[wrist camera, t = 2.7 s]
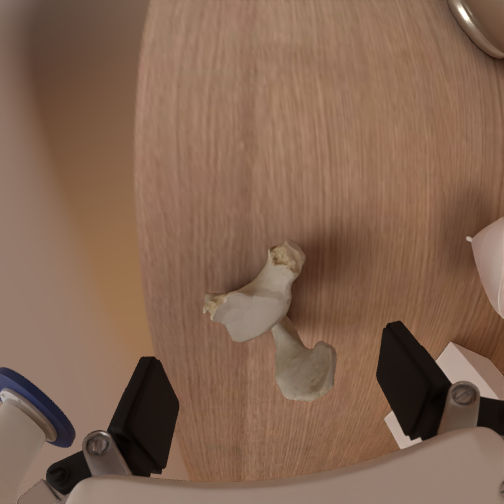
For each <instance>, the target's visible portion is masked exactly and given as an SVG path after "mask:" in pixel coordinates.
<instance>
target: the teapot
mask: <svg viewBox="0 0 504 504" xmlns="http://www.w3.org/2000/svg"><path fill="white" fill-rule="evenodd" d="M447 1H448V4H449V7H450V9H451V11H452V13H453V15H454V17H455V18H456V20H457V21H458V23H459V24H460V26H461V27H462V29H463V30H464V31H465V33H466V34H467V35H468V36H469V37H470V39H471V40H472V41H473V42H474V43H475V44H476V45H477V46H478V47H479V48H480V49H482V50H483V51H484V52H485V53H487V54H488V55H490V56H492V57H495V58H499V59H501V58H504V0H447Z"/></svg>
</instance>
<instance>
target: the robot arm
mask: <svg viewBox="0 0 504 504" xmlns="http://www.w3.org/2000/svg"><path fill="white" fill-rule="evenodd" d="M376 377H377V381H378V383H379V385H380V386H381V388H382V390H383V392H384V394H385V396H386V398H387V400H388V402H389V404H390V406H391V408H392V410H393V412H394V414H395V416H396V419H397V421H398V423H399V425H400V427H401V429H402V431H403V433H404V435H405V436H409V438H410V440H411V441H412V440H415V439H417V438H421V440H422V442H419V443H417V444H414V445H412V446H409V447H406V448H404V449H401V450H398V451H395V452H392V453H389V454H386V455H383V456H380V457H377V458H374V459H371V460H368V461H364V462H361V463H357V464H353V465H350V466H346V467H341V468H337V469H333V470H328V471H323V472H318V473H313V474H307V475H301V476H295V477H287V478H279V479H269V480H257V481H239V482H201V481H183V480H170V479H159V478H151V477H150V475H151V473H154V474H161V473H162V469H164V468H165V467H166V465H167V460H168V455H169V451H170V447H171V442H172V437H173V433H174V429H175V424H176V420H177V416H178V411H179V401H178V398H177V396H176V394H175V392H174V390H173V388H172V386H171V384H170V382H169V380H168V377H167V375H166V373H165V371H164V368H163V366H162V364H161V362H160V360H157V359H156V358H155V357H153V356H152V357H141V358H140V360H139V362H138V364H137V367H136V368H135V371H134V373H133V375H132V377H131V379H130V381H129V384H128V386H127V387H126V389H125V391H124V393H123V395H122V397H121V400H120V402H119V404H118V406H117V409H116V411H115V413H114V415H113V418H112V420H111V422H110V425H109V427H108V429H107V432H106V431H103V430H97V431H93V432H91V433H90V434H88V435H87V436H86V437H85V438H84V441H83V443H82V449H83V450H82V451H80V452H78V453H76V454H73V455H71V456H69V457H67V458H65V459H63V460H60V461H58V462H56V463H54V464H52V465H51V466H50V467H49V468H48V470H47V473H46V480H43V479H41V480H40V481H39V482H38V483H37V484H35V485H34V486H33V487H32V488H30V489H29V490H28V491H27V492H25V493H24V494H23V495H22V496H21V497H20V498H19V499H18V501H17V498H18V496H19V494H20V492H21V489H22V487H23V485H24V483H25V480H26V478H27V476H28V474H29V472H30V470H31V468H32V466H33V464H34V462H35V460H36V458H37V456H38V454H39V451H40V450H41V448H42V446H43V444H44V442H45V440H46V441H50V442H53V441H55V440H56V438H57V436H58V435H57V431H56V429H55V428H54V426H53V425H52V423H51V422H50V421H49V420H48V418H47V417H46V416H45V415H44V414H43V413H42V412H41V411H40V410H39V409H38V408H37V407H36V406H34V405H33V404H32V403H31V402H30V401H29V400H27V399H26V398H25V397H23V396H22V395H21V394H19V393H18V392H16V391H14V390H12V389H9V388H3V390H2V391H1V392H0V397H1V400H2V402H3V404H2V405H1V406H0V504H16V501H17V504H504V400H498V399H492V398H487V397H482V396H480V391H479V389H478V387H477V386H476V385H475V384H473V383H471V382H468V381H459V382H456V383H454V384H452V383H451V382H450V380H449V379H448V378H447V376H446V375H445V374H444V372H443V371H442V370H441V368H440V367H439V366H438V364H437V363H436V362H435V361H434V359H433V358H432V357H431V355H430V354H429V353H428V352H427V350H426V349H425V348H424V347H423V346H422V345H420V344H419V342H418V341H417V340H416V339H415V337H414V336H413V335H412V334H411V333H410V331H409V330H408V329H407V328H406V327H405V325H404V324H403V323H402V322H401V321H396V322H392V323H388V324H387V325H386V328H384V329H383V333H382V340H381V347H380V354H379V361H378V367H377V372H376Z"/></svg>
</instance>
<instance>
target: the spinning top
mask: <svg viewBox="0 0 504 504" xmlns="http://www.w3.org/2000/svg"><path fill="white" fill-rule="evenodd" d="M466 240H467V241H469V242H471V245H472V251H473V255H474V259H475V263H476V266H477V269H478V273H479V276H480V280H481V283H482V285H483V288H484V290H485V292H486V295H487V297H488V299H489V301H490V303H491V305H492V307H493V308H494V309H495V311H496V312H497V313H498V314H499V315H500V316H501V317H502V318H503V319H504V217H501V218H500V219H498V220H496V221H495V222H493V223H492V224H490V225H488V226H487V227H485V228H484V229H482V230H481V231H480V232H479V233H477V234H476V235H475V236H474V237H473V238H471V237H469V236H467V237H466Z"/></svg>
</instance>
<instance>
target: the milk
mask: <svg viewBox="0 0 504 504" xmlns="http://www.w3.org/2000/svg"><path fill="white" fill-rule="evenodd" d="M435 362H436V363H437V364H438V366H439V367H440V368H441V370H442V371H443V372H444V374H445V375H446V376H447V378H448V379H449V380H450V382H451V383H452V384H454V383H456V382H459V381H468V382H471V383H473V384H475V385H476V386H477V387H478V389H479V391H480V396H482V397H487V398H492V399H498V400H504V376H503V375H502V374H501V373H500V371H499V370H498V369H497V368H496V367H495V366H494V364H493V363H492V362H491V361H490V360H489V359H487V358H485V357H483V356H481V355H479V354H477V353H475V352H472V351H470V350H468V349H466V348H464V347H462V346H460V345H457V344H455V343H453V342H451V341H450V343H449V344H448V345H447V347H446V348H445V349H444V351H443V352H442V353H441V355H440V356H439V357H438V359H437V360H436V361H435ZM384 420H385V422H386V424H387V426H388V427H389V429H390V431H391V433H392V435H393V436H394V438H395V440H396V442H397V444H398V445H399V447H400V449H404V448H406V447H409V446H412V445H414V444H417V443H419V442H422V440H421V438H417V439H415V440H412V441H411V440H410V438H409V436H405V435H404V433H403V431H402V429H401V427H400V425H399V423H398V421H397V419H396V416H395V414H394V412H393V410H392V411H391V412H390V413H389V414H388V415H387V416H386V417H385V418H384Z"/></svg>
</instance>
